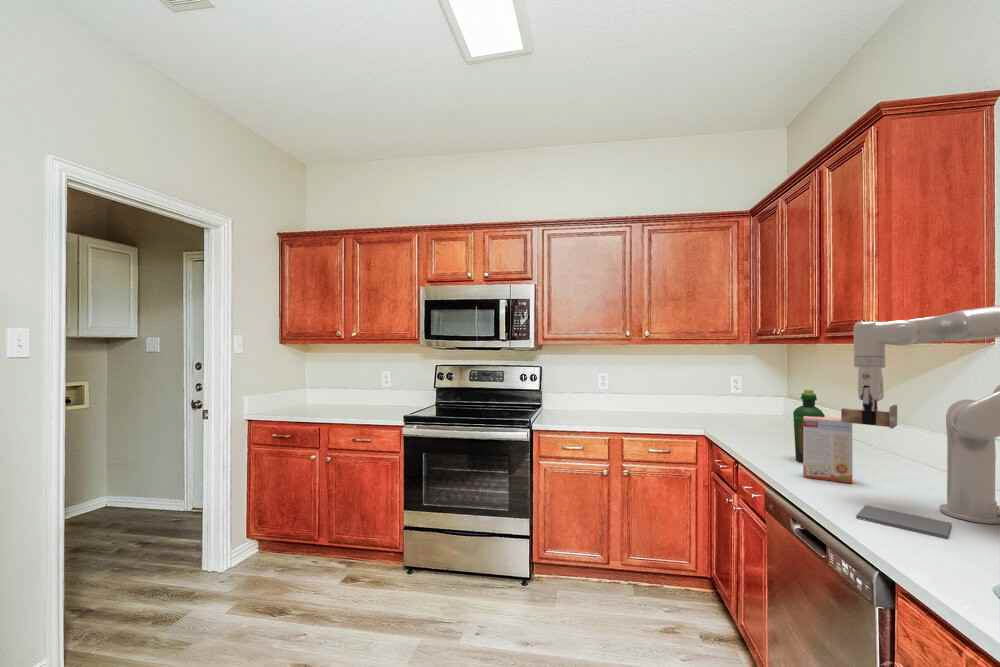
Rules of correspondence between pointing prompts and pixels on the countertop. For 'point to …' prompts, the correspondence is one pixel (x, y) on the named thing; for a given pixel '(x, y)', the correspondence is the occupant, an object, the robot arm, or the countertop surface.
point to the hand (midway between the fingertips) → (870, 423)
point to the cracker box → (827, 449)
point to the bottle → (798, 415)
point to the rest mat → (905, 521)
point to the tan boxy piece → (881, 417)
